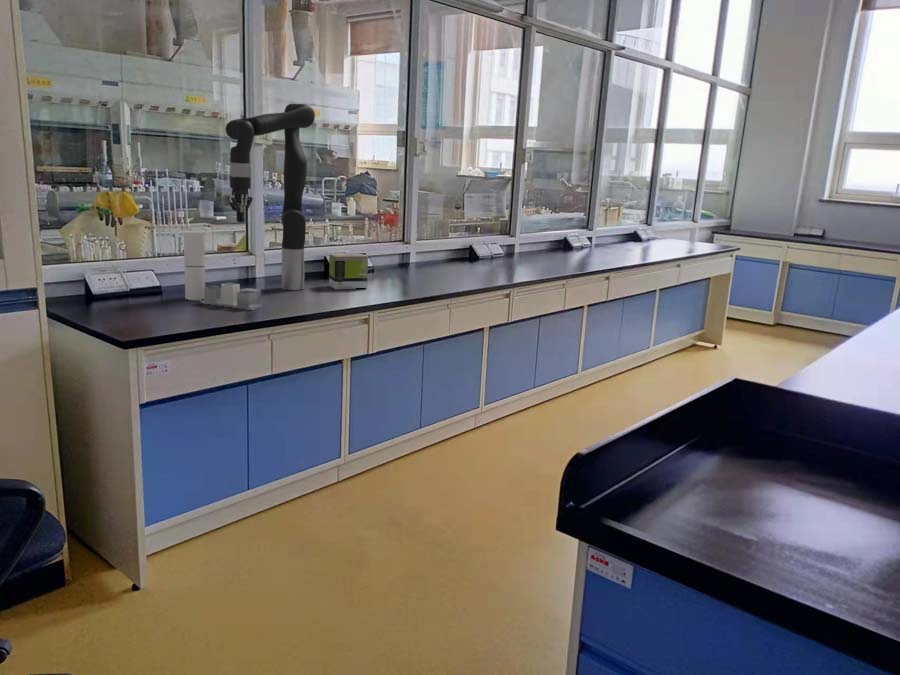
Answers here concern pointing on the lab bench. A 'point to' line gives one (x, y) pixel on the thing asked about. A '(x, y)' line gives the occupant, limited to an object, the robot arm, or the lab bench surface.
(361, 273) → the tea box
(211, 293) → the rail
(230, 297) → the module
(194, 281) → the cylindrical container
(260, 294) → the supply block
